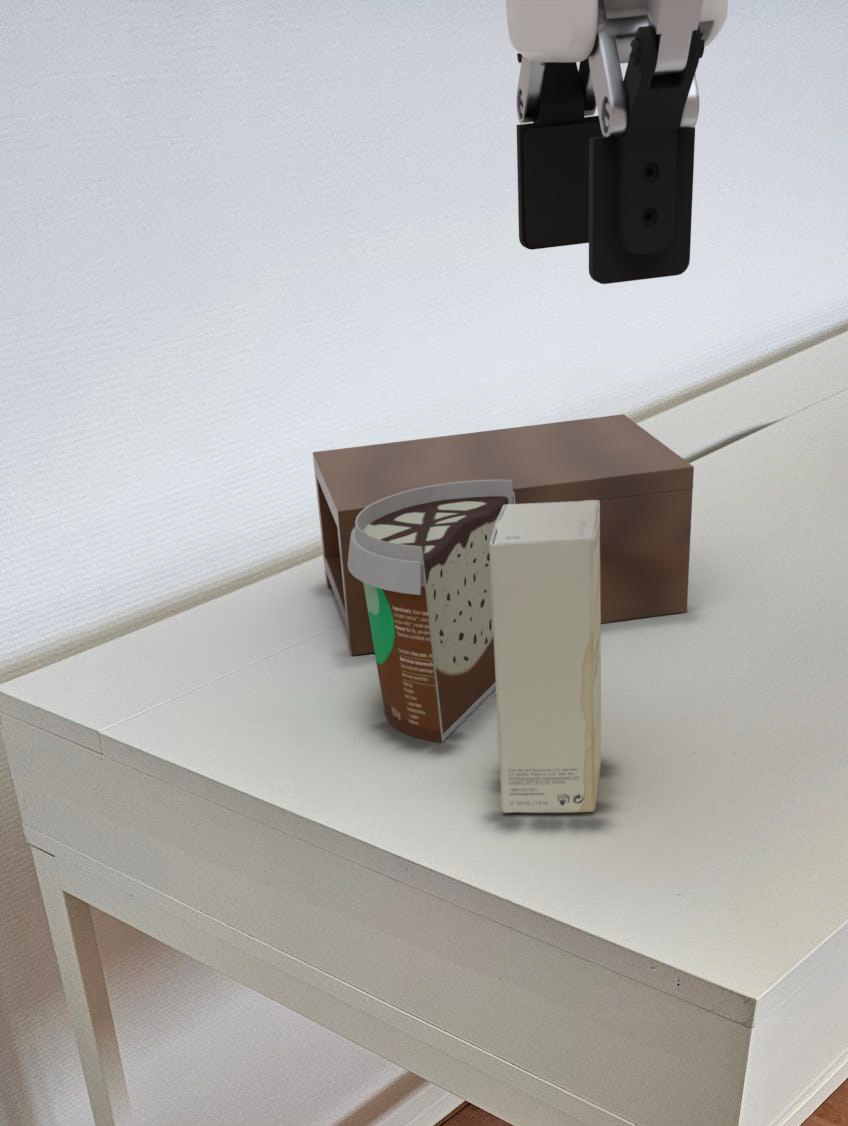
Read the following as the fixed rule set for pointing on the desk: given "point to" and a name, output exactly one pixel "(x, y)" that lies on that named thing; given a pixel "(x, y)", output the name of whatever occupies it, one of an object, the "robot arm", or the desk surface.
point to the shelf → (539, 475)
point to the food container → (431, 600)
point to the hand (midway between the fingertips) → (597, 260)
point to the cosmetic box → (547, 654)
